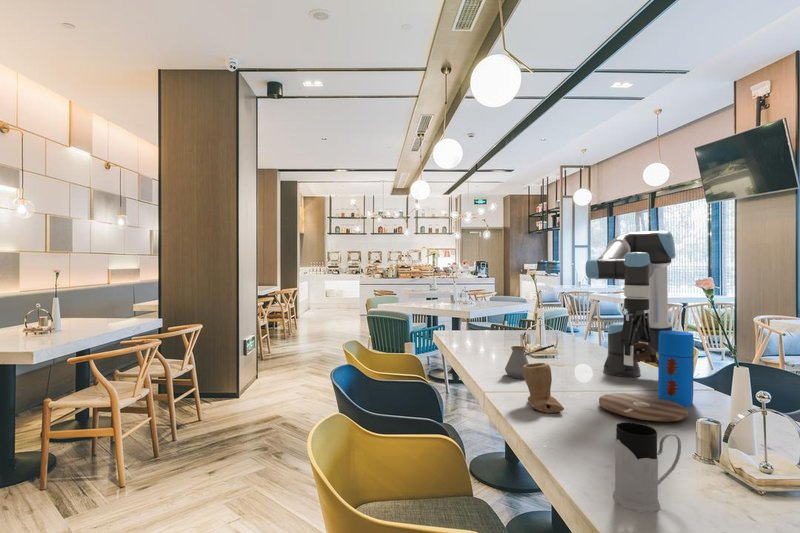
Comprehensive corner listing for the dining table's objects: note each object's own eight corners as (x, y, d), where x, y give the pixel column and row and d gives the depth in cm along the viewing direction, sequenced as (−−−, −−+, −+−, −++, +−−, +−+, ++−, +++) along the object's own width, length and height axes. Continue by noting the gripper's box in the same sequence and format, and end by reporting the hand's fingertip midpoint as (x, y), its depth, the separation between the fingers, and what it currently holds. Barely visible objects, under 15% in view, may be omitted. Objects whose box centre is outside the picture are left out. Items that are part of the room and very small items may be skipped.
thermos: (654, 401, 157) (655, 332, 157) (661, 395, 165) (662, 329, 165) (690, 408, 150) (690, 336, 149) (695, 401, 157) (696, 332, 157)
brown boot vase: (519, 399, 158) (520, 358, 158) (553, 401, 157) (553, 359, 157) (527, 413, 143) (528, 368, 143) (564, 415, 142) (565, 369, 142)
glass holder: (604, 490, 94) (604, 421, 94) (665, 487, 96) (665, 419, 95) (629, 513, 85) (629, 437, 85) (695, 510, 87) (696, 435, 87)
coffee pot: (503, 378, 188) (503, 343, 188) (506, 372, 199) (506, 339, 199) (555, 382, 182) (555, 347, 182) (555, 376, 192) (555, 342, 192)
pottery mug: (667, 369, 141) (658, 348, 139) (639, 381, 142) (630, 360, 140) (648, 353, 152) (640, 333, 150) (622, 363, 154) (614, 344, 152)
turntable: (619, 391, 164) (619, 388, 164) (699, 409, 144) (699, 406, 144) (584, 405, 147) (584, 402, 147) (670, 427, 127) (670, 424, 127)
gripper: (639, 296, 157) (639, 356, 157) (609, 298, 142) (608, 365, 142) (662, 297, 151) (661, 360, 151) (632, 300, 137) (632, 369, 137)
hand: (636, 362), depth 147 cm, fingers closed on pottery mug, 11 cm apart
